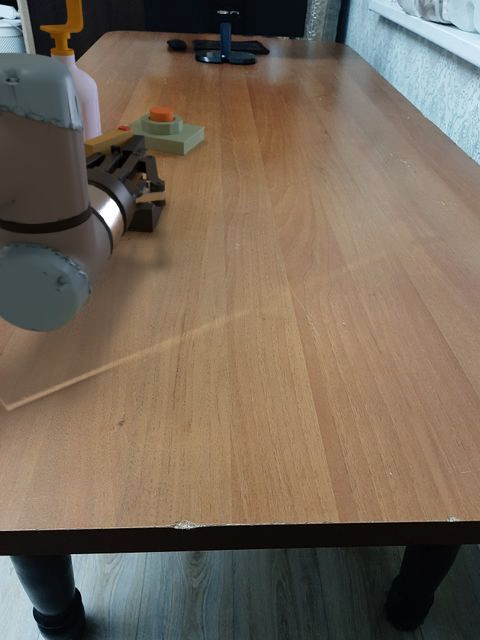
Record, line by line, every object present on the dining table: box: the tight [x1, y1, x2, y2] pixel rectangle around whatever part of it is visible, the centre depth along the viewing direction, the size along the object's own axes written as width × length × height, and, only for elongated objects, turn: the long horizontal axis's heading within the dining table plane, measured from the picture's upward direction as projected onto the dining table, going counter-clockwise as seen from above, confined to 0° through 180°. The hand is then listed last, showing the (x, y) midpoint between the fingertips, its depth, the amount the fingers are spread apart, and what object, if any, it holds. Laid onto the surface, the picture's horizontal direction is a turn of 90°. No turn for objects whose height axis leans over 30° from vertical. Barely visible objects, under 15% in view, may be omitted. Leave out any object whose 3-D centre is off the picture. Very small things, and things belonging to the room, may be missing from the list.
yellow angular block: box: [84, 125, 133, 158], centre depth 72 cm, size 8×2×7 cm, turn 154°
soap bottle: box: [39, 0, 103, 141], centre depth 86 cm, size 9×9×25 cm
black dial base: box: [126, 178, 166, 233], centre depth 75 cm, size 12×12×3 cm
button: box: [149, 106, 174, 122], centre depth 98 cm, size 4×4×2 cm
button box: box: [126, 112, 205, 156], centre depth 99 cm, size 12×10×4 cm
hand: (140, 145), depth 74 cm, fingers closed
